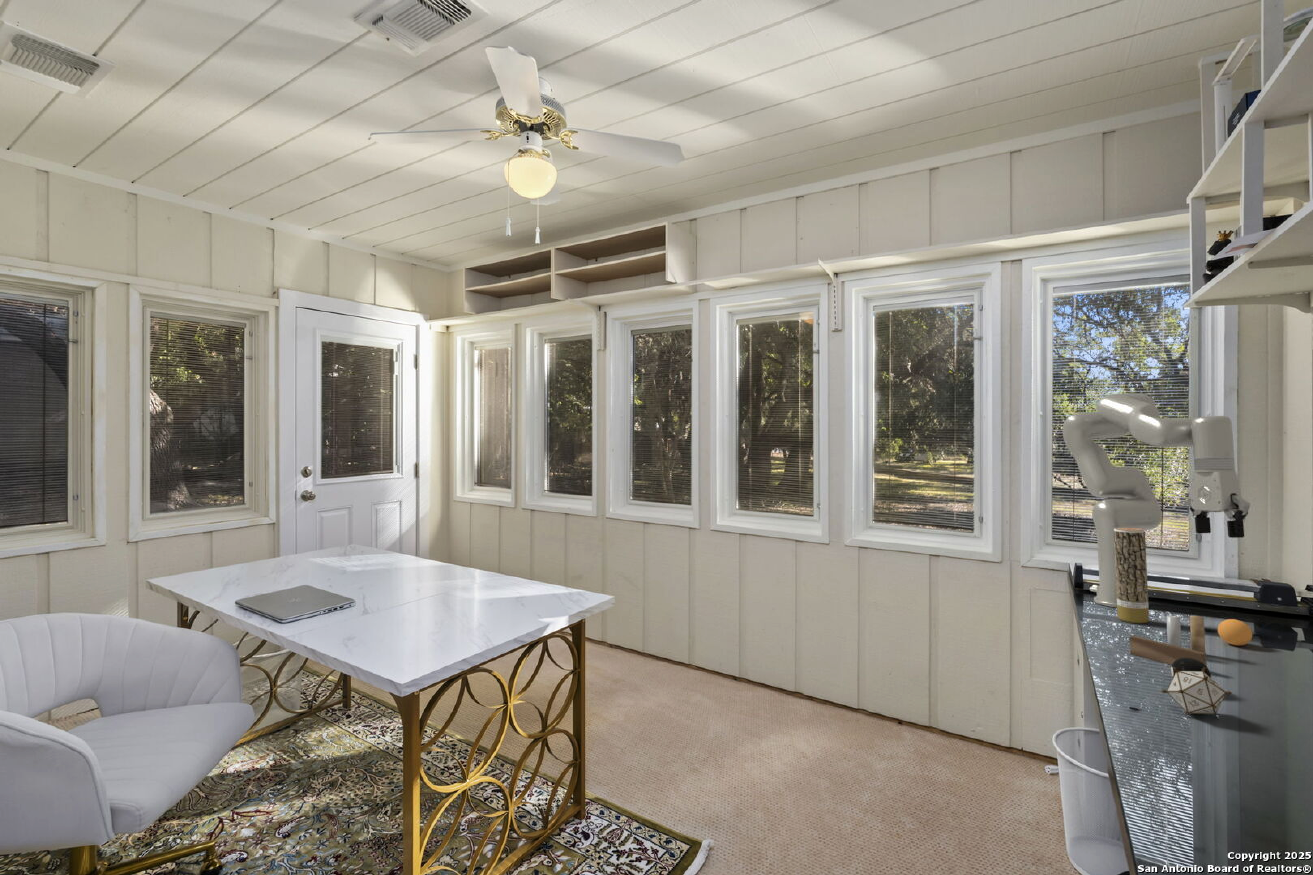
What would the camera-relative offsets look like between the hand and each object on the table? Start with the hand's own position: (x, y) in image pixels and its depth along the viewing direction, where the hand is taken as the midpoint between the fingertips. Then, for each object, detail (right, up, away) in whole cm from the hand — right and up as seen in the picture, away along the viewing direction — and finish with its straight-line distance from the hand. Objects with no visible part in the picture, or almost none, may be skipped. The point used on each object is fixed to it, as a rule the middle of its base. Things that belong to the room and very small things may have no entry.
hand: (1219, 535), depth 152 cm
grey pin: (-20, -26, -10) cm, 34 cm away
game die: (-42, -26, -41) cm, 64 cm away
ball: (-1, -22, -5) cm, 23 cm away
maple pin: (-15, -26, -11) cm, 32 cm away
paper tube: (-9, -26, +16) cm, 32 cm away
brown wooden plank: (-26, -26, -16) cm, 40 cm away
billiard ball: (-33, -26, -30) cm, 52 cm away
